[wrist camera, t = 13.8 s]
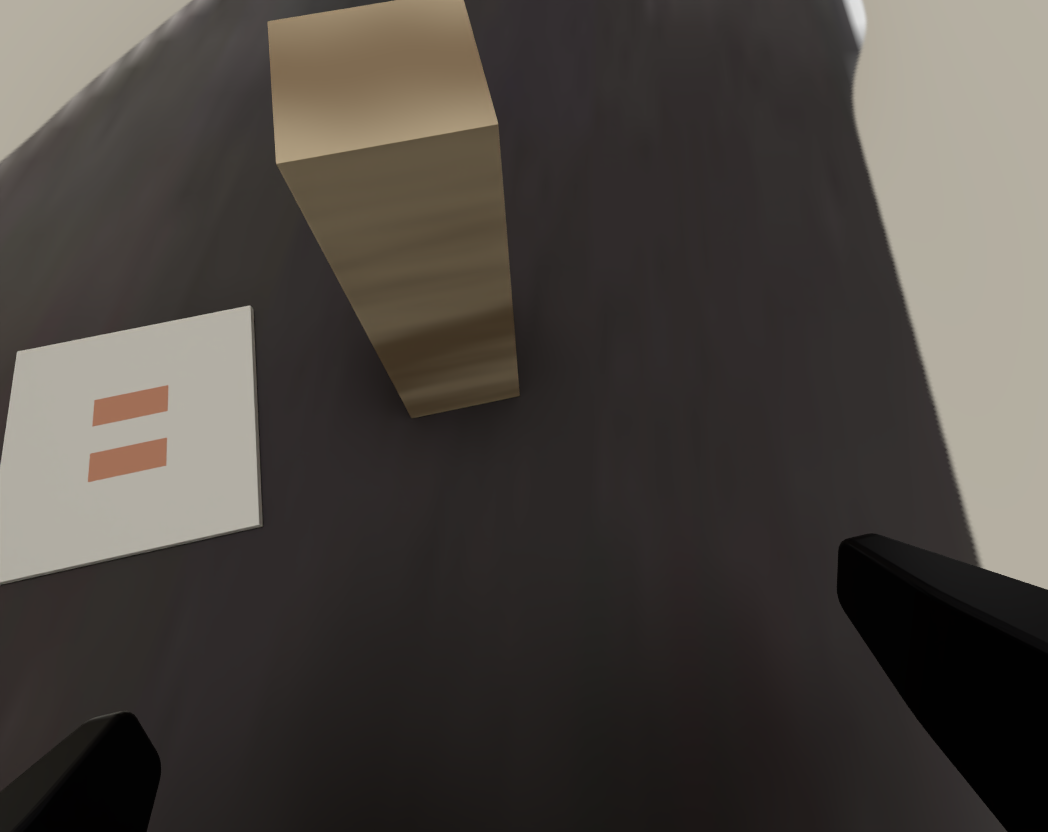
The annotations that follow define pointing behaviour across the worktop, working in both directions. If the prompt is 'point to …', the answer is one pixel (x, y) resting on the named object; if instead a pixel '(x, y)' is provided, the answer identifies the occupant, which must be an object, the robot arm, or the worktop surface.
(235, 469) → the card
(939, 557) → the robot arm
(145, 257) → the worktop surface
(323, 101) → the oak block
